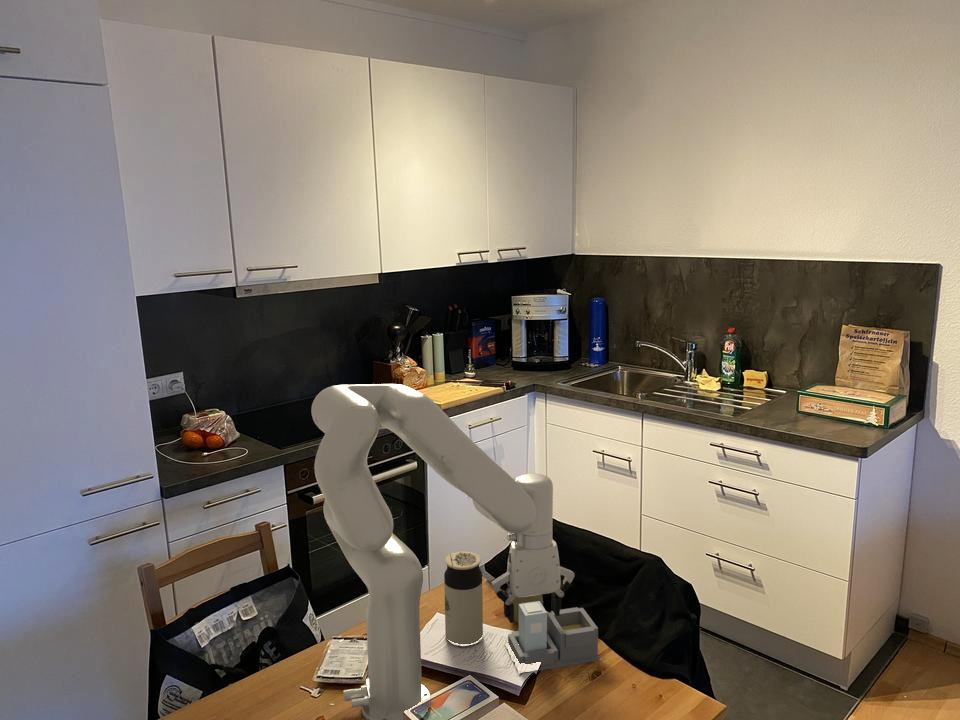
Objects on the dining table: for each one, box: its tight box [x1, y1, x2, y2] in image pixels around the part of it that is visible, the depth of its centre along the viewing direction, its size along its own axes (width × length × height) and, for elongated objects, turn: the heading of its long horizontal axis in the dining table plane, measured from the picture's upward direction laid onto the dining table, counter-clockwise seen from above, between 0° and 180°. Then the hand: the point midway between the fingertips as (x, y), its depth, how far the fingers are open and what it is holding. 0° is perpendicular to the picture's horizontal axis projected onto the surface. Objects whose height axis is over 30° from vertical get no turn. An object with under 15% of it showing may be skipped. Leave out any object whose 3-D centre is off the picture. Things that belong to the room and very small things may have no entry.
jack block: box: [507, 606, 600, 672], centre depth 145 cm, size 17×10×6 cm, turn 104°
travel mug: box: [443, 550, 484, 644], centre depth 150 cm, size 8×8×18 cm
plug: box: [518, 601, 548, 653], centre depth 144 cm, size 4×5×10 cm
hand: (532, 615), depth 143 cm, fingers open, 9 cm apart
